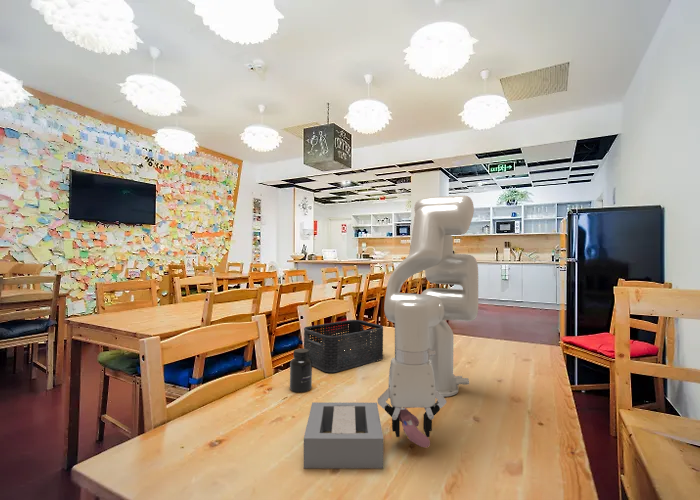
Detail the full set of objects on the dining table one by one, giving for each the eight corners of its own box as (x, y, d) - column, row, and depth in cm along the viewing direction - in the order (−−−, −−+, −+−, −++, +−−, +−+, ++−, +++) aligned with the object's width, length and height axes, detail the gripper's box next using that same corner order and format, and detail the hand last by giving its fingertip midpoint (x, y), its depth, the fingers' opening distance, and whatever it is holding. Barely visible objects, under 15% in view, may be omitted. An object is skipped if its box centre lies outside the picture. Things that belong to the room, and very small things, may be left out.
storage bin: (355, 348, 152) (355, 318, 152) (386, 359, 137) (387, 325, 137) (300, 361, 134) (300, 327, 134) (329, 376, 119) (329, 337, 119)
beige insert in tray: (354, 411, 83) (354, 405, 83) (355, 441, 70) (355, 434, 70) (334, 411, 83) (334, 405, 83) (331, 441, 70) (331, 434, 70)
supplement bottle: (307, 394, 103) (307, 354, 103) (286, 392, 105) (286, 353, 105) (314, 385, 110) (314, 348, 110) (294, 383, 112) (294, 346, 112)
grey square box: (376, 426, 85) (376, 402, 85) (383, 468, 69) (383, 438, 69) (312, 426, 85) (312, 402, 85) (303, 468, 69) (303, 438, 69)
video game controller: (402, 431, 82) (390, 406, 82) (419, 422, 83) (406, 397, 82) (414, 457, 73) (399, 429, 72) (432, 446, 73) (418, 418, 72)
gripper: (445, 349, 81) (445, 424, 81) (372, 350, 81) (372, 425, 81) (455, 360, 73) (455, 443, 74) (374, 361, 73) (374, 444, 74)
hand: (411, 433), depth 77 cm, fingers closed on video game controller, 6 cm apart
